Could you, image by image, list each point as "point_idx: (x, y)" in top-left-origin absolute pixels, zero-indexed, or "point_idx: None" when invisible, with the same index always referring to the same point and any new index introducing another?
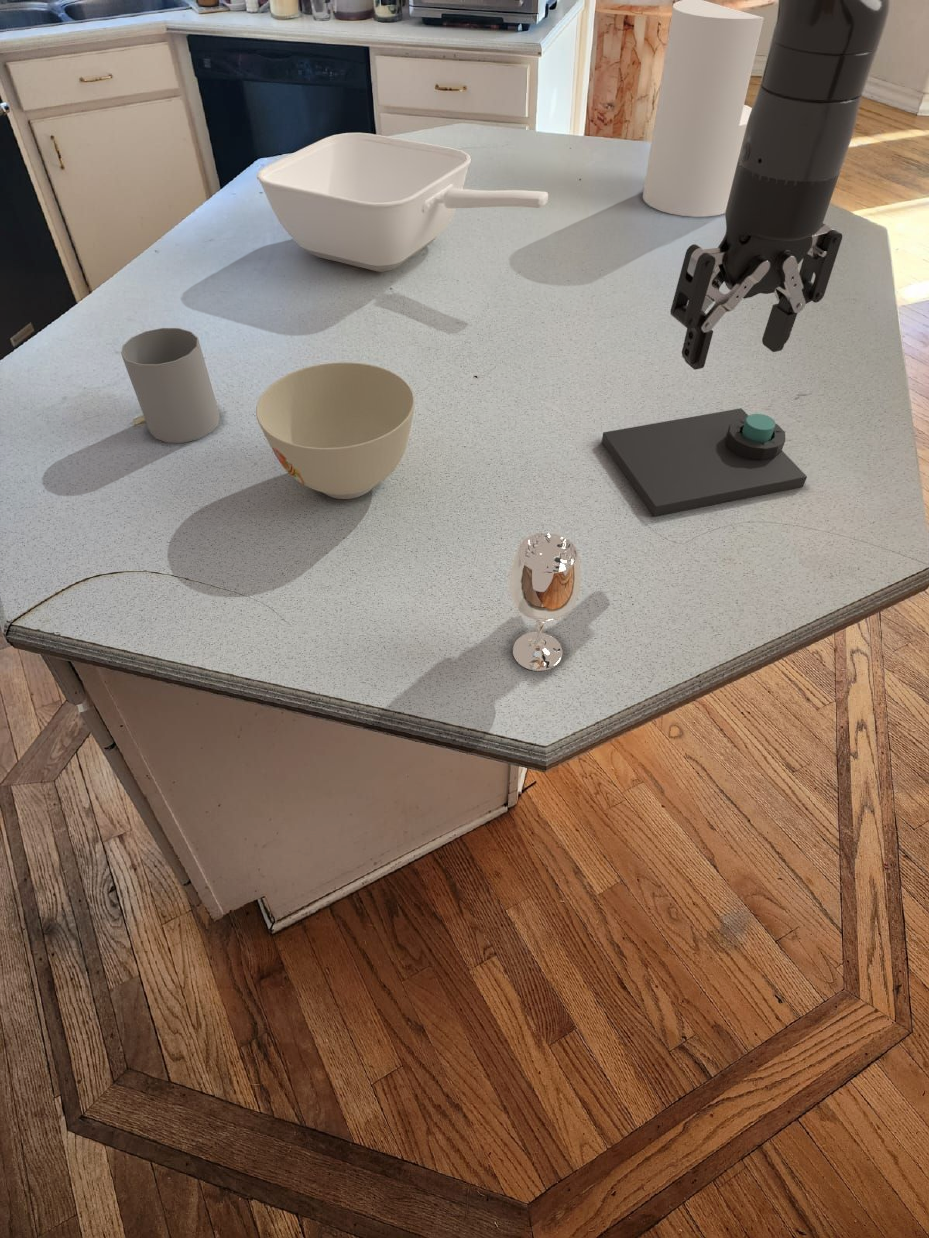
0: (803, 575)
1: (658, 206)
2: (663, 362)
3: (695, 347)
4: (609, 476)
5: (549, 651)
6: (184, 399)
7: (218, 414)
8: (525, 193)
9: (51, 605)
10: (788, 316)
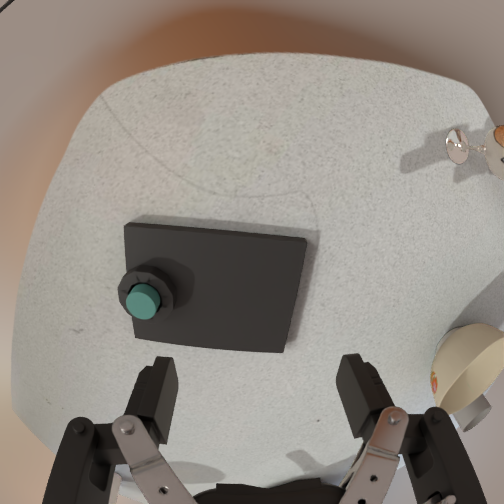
0: (212, 103)
1: (115, 474)
2: None
3: (378, 386)
4: (305, 304)
5: (456, 139)
6: None
7: None
8: None
9: None
10: (153, 415)
